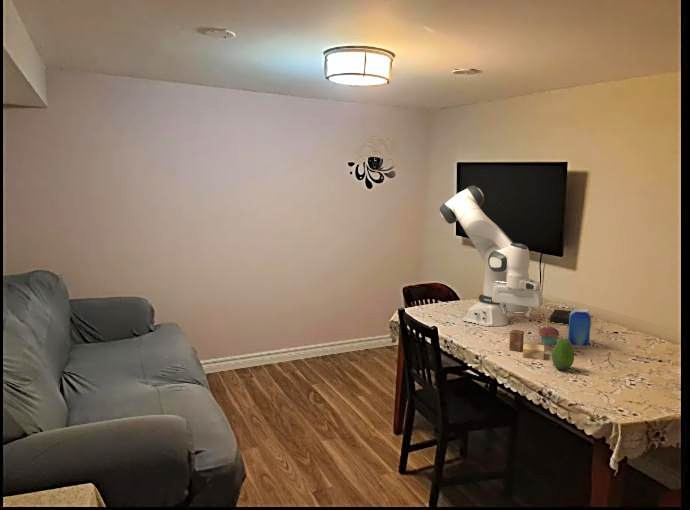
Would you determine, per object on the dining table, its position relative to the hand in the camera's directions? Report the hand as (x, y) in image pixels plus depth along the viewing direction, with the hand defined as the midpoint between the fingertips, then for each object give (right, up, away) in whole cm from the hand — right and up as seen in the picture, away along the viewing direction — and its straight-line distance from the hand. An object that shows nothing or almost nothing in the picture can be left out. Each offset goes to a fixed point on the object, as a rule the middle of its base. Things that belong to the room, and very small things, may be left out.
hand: (516, 315), depth 220 cm
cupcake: (+18, -14, +12) cm, 26 cm away
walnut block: (+1, -15, +2) cm, 15 cm away
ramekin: (+23, -6, +70) cm, 73 cm away
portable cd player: (+43, -9, +48) cm, 65 cm away
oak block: (+5, -16, -6) cm, 18 cm away
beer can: (+29, -14, +7) cm, 33 cm away
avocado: (+10, -18, -21) cm, 30 cm away
